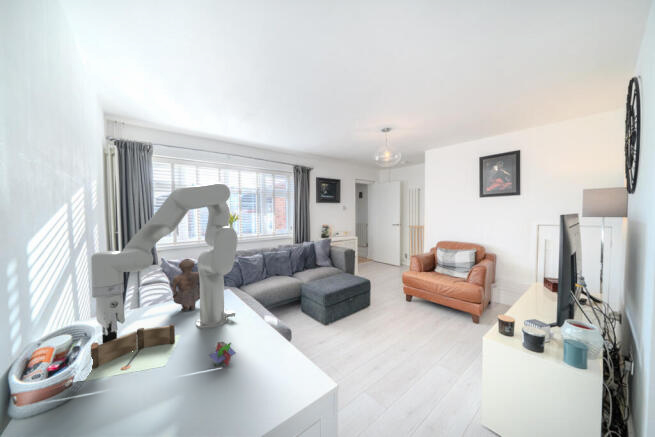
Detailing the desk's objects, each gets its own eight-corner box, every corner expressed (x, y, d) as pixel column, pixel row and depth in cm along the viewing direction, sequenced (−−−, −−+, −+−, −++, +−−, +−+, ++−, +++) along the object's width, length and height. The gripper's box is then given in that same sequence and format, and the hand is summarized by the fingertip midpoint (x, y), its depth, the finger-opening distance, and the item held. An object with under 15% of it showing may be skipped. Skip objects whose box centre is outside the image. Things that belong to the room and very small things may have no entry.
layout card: (181, 335, 92) (181, 334, 92) (164, 367, 73) (164, 366, 73) (107, 346, 85) (107, 344, 85) (67, 385, 66) (67, 383, 66)
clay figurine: (199, 302, 125) (199, 255, 124) (206, 308, 118) (205, 258, 117) (170, 310, 116) (169, 259, 115) (175, 316, 108) (174, 262, 108)
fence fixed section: (175, 341, 87) (175, 323, 87) (174, 344, 85) (173, 325, 85) (138, 347, 83) (138, 328, 83) (136, 350, 82) (135, 331, 81)
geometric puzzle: (243, 356, 75) (233, 333, 77) (224, 369, 69) (213, 343, 71) (231, 364, 78) (222, 341, 80) (212, 376, 72) (202, 351, 74)
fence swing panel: (135, 348, 82) (134, 327, 82) (137, 349, 81) (137, 328, 81) (89, 367, 72) (89, 343, 72) (92, 369, 71) (91, 345, 71)
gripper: (131, 290, 76) (133, 346, 76) (115, 282, 84) (116, 333, 84) (100, 297, 69) (101, 358, 70) (85, 288, 78) (87, 343, 78)
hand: (109, 344), depth 77 cm, fingers closed
